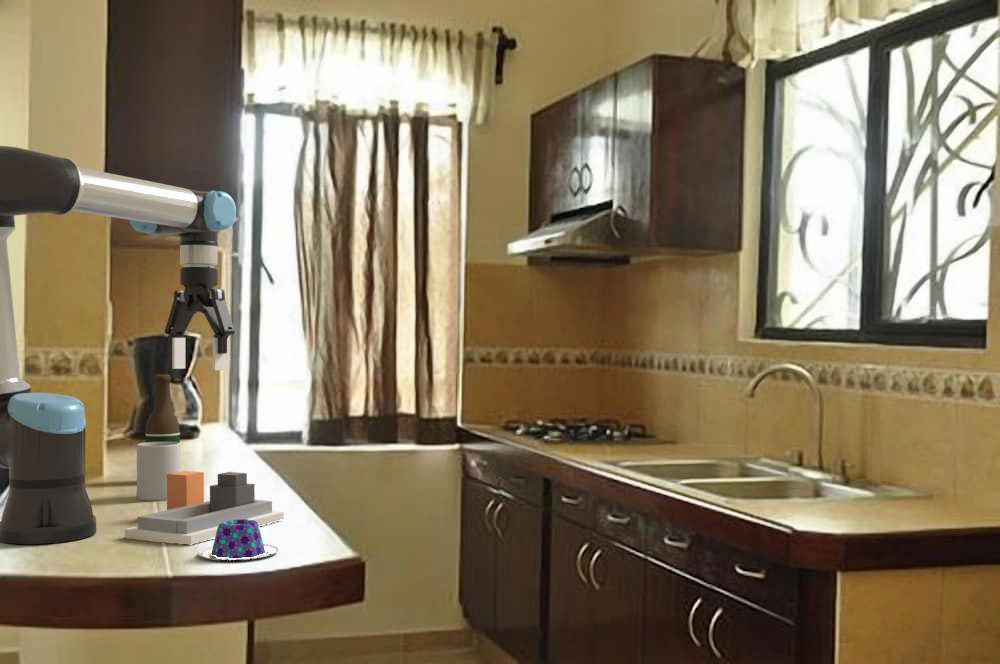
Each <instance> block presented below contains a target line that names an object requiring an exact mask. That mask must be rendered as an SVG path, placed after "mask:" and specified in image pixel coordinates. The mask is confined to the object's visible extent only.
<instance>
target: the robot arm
mask: <svg viewBox="0 0 1000 664" xmlns="http://www.w3.org/2000/svg"><path fill="white" fill-rule="evenodd" d="M71 212H76V213H77V212H78V213H81V214H83V213H84V214H89V215H96V216H103V217H109V218H110V217H111V218H117V219H122V220H129V223H130V225H131V227H132V228H133V229H134V230H135V231H137V232H139V233H143V234H148V235H162V236H163V235H164V236H174V237H175V236H176V237H179V245H180V247H179V248H180V249H179V251H180V253H179V264H180V265H181V266H182V267H181V269H179V273H180V274H179V275H180V276H179V281H180V282H179V283H180V285H181V286H183V287H184V290H175V291H174V292H173V302H172V304H171V309H170V311H169V315H168V318H167V321H166V325H165V329H164V334H165V335H168V336H169V337H170V338H171V353H172V357H171V358H172V359H171V360H172V361H171V362H172V367H171V369H172V370H173V369H174V370H175V369H177V370H178V369H179V370H180V369H181V370H182V369H183V370H184V369H186V335H185V332H186V330H187V328H188V327H189V324H190V322H191V321H192V319H193V317H194V316H195V314H197V313H202V314H203V315H204V316H205V318H206V320H207V322H208V324H209V325H210V328H211V330H212V331H213V333H214V335H213V337H212V371H226V370H227V353H228V338H229V337H230V336H233V335H234V334H235V333H236V331H235V327H234V324H233V321H232V318H231V315H230V311H229V308H228V306H227V302H226V295H225V294H226V293H225V290H224V289H215V288H214V287H217V286H218V283H219V282H218V281H219V280H218V279H219V269H217V268H216V267H217V265H218V264H219V263H218V254H219V253H218V246H219V245H218V243H219V241H218V239H219V231H224V230H227V229H230V227H231V228H232V226H233V224H234V223H235V220H236V218H237V206H236V202H235V200H234V199H233V197H232V196H231V195H230V194H229V193H227V192H225V191H216V190H210V191H201V190H195V189H188V188H184V187H180V186H174V185H170V184H164V183H159V182H155V181H150V180H145V179H141V178H135V177H129V176H124V175H120V174H115V173H110V172H104V171H101V170H95V169H90V168H86V167H85V168H84V167H78V165H77V163H76V162H75V161H73V160H72V159H71V158H67V157H60V156H56V155H51V154H49V153H48V154H47V153H44V152H40V151H35V150H30V149H26V148H21V147H15V146H8V145H0V468H1V469H8V470H9V471H8V473H9V474H8V477H9V479H8V481H9V485H8V486H9V489H8V490H9V491H8V494H7V495H8V496H7V498H6V501H5V504H4V507H3V511H2V516H1V519H0V542H2V543H7V544H14V545H15V544H17V545H37V544H38V545H40V544H41V545H42V544H53V543H54V544H55V543H56V544H57V543H64V542H70V541H71V542H73V541H76V540H81V539H86V538H89V537H91V536H93V535H95V534H97V517H96V516H95V514H94V512H93V509H92V504H91V502H90V501H91V500H90V498H89V495H88V491H87V489H86V488H87V487H86V426H87V420H86V414H85V405H84V404H83V402H82V400H80V398H79V399H78V398H77V397H74V396H72V395H66V394H60V393H50V392H31V385H30V384H29V383H28V382H26V381H25V380H24V379H23V378H22V377H21V375H20V364H19V354H18V353H19V351H18V344H17V343H18V342H17V334H16V323H15V313H14V312H15V311H14V304H13V303H14V302H13V291H12V290H13V289H12V281H11V272H10V261H9V250H8V238H9V237H10V236H11V235H12V234H13V232H14V231H15V230H16V221H15V216H25V215H36V214H50V215H58V216H64V215H67V214H69V213H71Z"/></svg>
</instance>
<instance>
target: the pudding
mask: <svg viewBox="0 0 1000 664" xmlns="http://www.w3.org/2000/svg"><path fill="white" fill-rule="evenodd" d="M263 542H264V541H263V539H262V533H261V529H260V527H259V526H258V523H257V522H256V521H254V520H248V519H241V520H239V519H236V520H228V521H224V522H222V523H220V524H219V526H218V528H217V532H216V536H215V539H214V541H213V546H210V547H207V548H204V549H201V550H200V551H198V552H197V555H198V556H199V557H200V558H204V559H207V560H212V561H220V560H222V559H215V558H213V559H210V558H206V557H203V556H202V555H203V552H205V551H207V550H210V549H212V548H213V549H212V553H211V554H212V555H216V556H217V557H229V558H242V557H254V556H257V555H259V554H263V553H265V554H266V552H265V550H264V546H270V547H273V548H275V549H276V552H275V553H273V554H271V555H267V556H265V555H263V557H262V556H258V557H257V558H258V559H261V558H266V557H269V556H272V555H275V554H276V553H278V552H279V548H278V547H277V546H275V545H271V544H265V543H263ZM257 558H250V559H252V560H257ZM250 559H236V560H241V561H250ZM226 560H227V561H226V562H235V561H234V560H233V561H231V560H229V561H228V559H226Z"/></svg>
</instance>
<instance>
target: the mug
mask: <svg viewBox="0 0 1000 664" xmlns="http://www.w3.org/2000/svg"><path fill="white" fill-rule="evenodd" d="M180 471H181V443H178V442H147V443H146V442H141V443H138V444H137V445H136V498H137V500H138V501H143V502H144V501H145V502H160V501H161V502H162V501H167V474H169V473H174V472H180Z"/></svg>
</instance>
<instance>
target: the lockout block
mask: <svg viewBox="0 0 1000 664" xmlns="http://www.w3.org/2000/svg"><path fill="white" fill-rule="evenodd" d="M204 476H205V472H204V471H193V470H180V472H174V473H169V474H167V500H166V510H171V509H175V508H180V507H184V506H189V505H193V504H198V503H203V502H205V494H204V493H205V491H204V490H205V486H204V485H205V484H204V483H205V477H204Z"/></svg>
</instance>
